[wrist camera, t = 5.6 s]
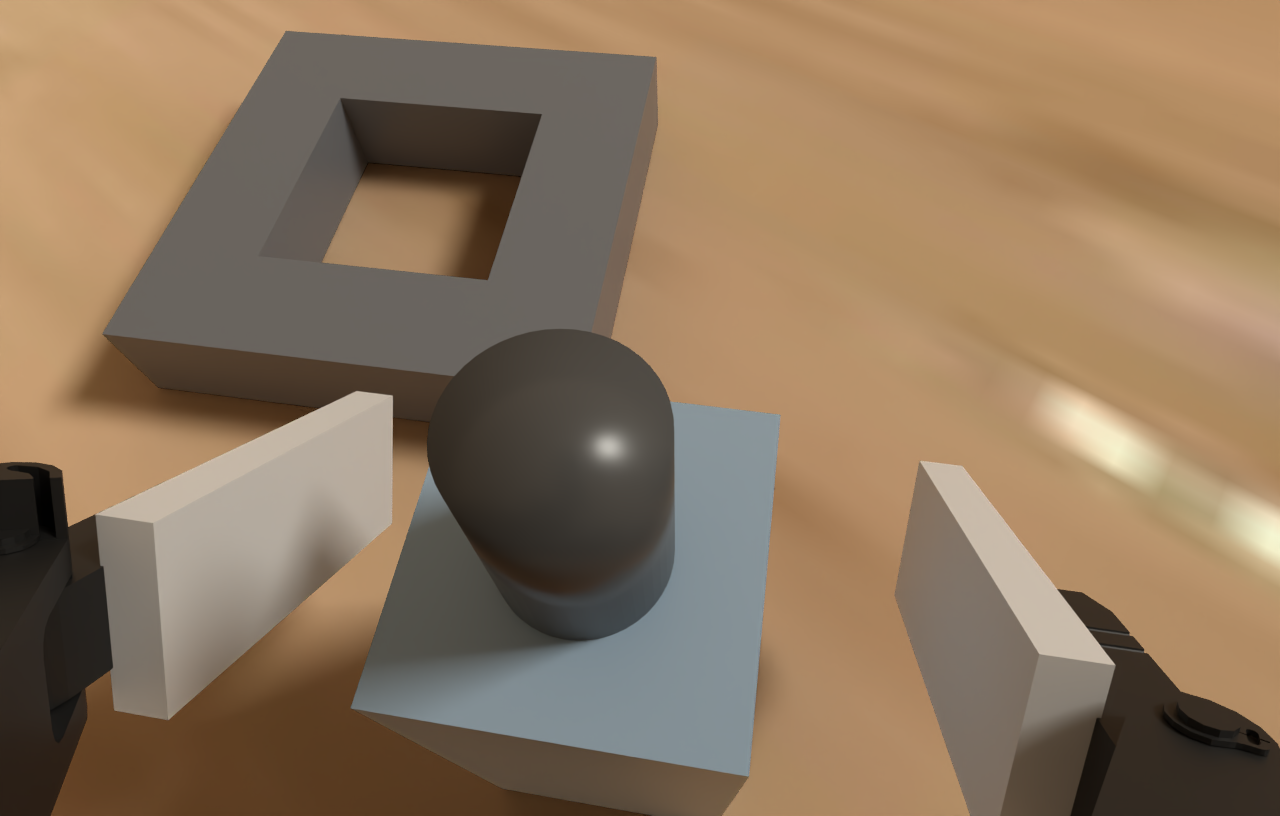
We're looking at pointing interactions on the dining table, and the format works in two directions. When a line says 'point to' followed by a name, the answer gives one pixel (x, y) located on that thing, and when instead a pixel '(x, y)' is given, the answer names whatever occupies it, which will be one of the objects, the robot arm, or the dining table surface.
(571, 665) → the connector plug
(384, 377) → the frame
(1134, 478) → the dining table surface
